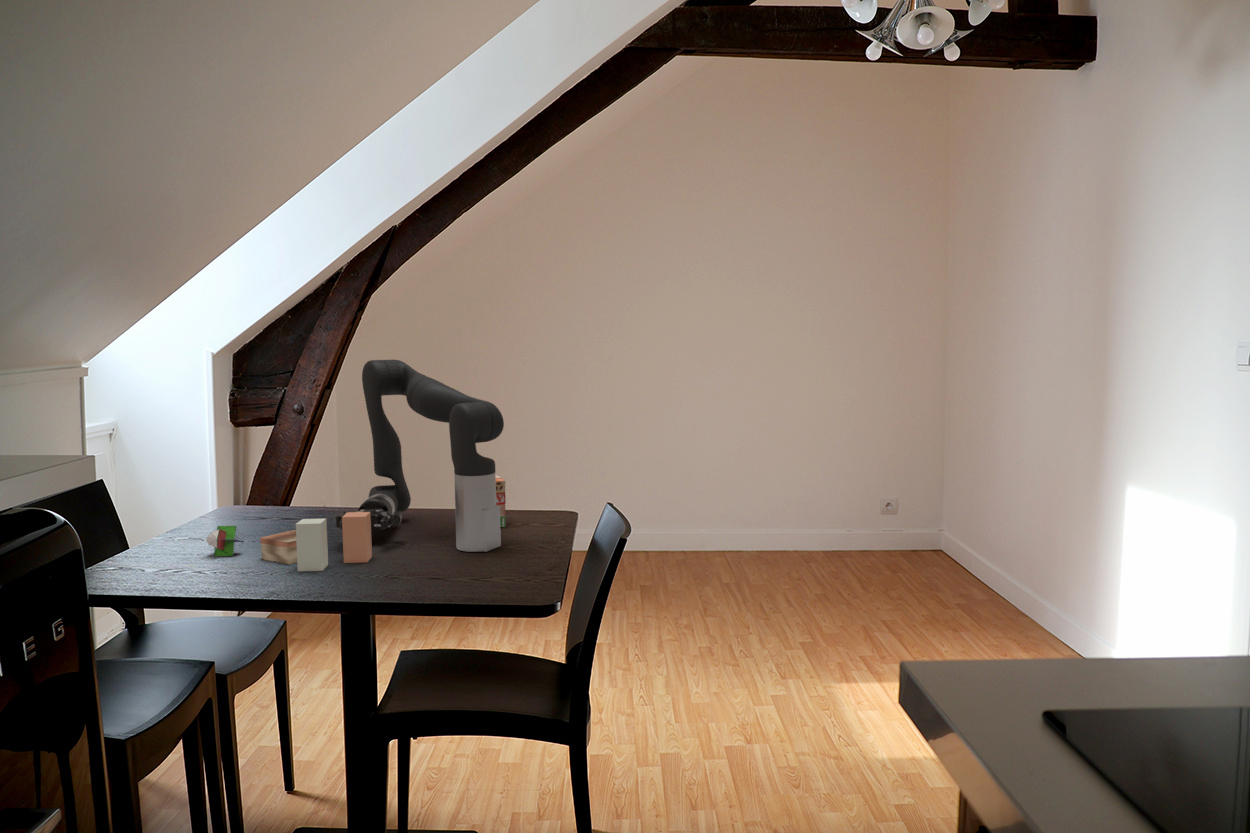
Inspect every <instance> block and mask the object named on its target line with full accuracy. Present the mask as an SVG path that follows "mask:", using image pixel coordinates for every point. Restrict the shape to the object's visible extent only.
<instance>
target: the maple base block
mask: <svg viewBox="0 0 1250 833" xmlns="http://www.w3.org/2000/svg"><path fill="white" fill-rule="evenodd" d="M259 540H260V542H259V543H260V546H261V547H260V548H261V559H262V560H263V559H264V560H265V561H269V560H270V561H269V562H274V561H276V562H275V563H279V562H280V564H286V565H292V564H297V543H296V529H291V530H288V531H283V532H279V533H275V534H270V535H267V536H262V537H260V538H259Z"/></svg>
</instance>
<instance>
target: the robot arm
mask: <svg viewBox="0 0 1250 833" xmlns="http://www.w3.org/2000/svg"><path fill="white" fill-rule="evenodd" d="M361 375H362V376H361V382H362V390H363V395H364V401H365V405H366V406H365V408H366V411H367V417H368V421H369V426H370V432H371V437H372V438H371V439H372V447H373V448H372V451H373V468H374V469H373V470H374V474H375V475H376V476H377V477H383V478H387V479H390V480H392V482H393V483H394V484H390V485H389V484H387V485H386V484H385V485H376V486H373V487H372V488H371V489H370V490H369V493H368V498H366V500H364V502H362V503H361V504H360V506H359V508H358V510H357V512H370V516H371V531H379V530H383V531H384V530H386V529H387V528H391V526H392V525H393V526H394V527H399V526H400V525H401V523H402V512H406V511H407V510H409V508H410V505H411V500H412V499H411V497H412V496H411V494H410V491H409V487H408V485H407V481H406V479H405V475H404V470H403V460H402V459H403V457H402V444H401V440H400V438H399V435H398V433H397V432H396V430H395V429H394V427H393V425H392V424H391V422H390V421H389V419H388V417H387V415H386V412H385V410H384V407H383V402H382V401H383V400H382V399H383V398H382V396H383V397H384V396H405V397H406V402H407V405H408V407H410V409H411V410H412V411H413V412H415V413H416V414H418V415H420V416H422V417H423V418H426V419H428V420H431V421H436V422H440V423H447V424H448V428H449V440H450V455H451V461H452V465H453V468H454V470H453V471H454V506H455V507H454V509H455V512H454V514H455V539H456V540H455V544H456V549H457V550H458V551H463V552H470V553H471V552H472V553H473V552H475V553H477V552H478V553H479V552H485V553H486V552H489V551H492V550H494V549H496V548H497V549H498V548H499V547H502V542H501V541H502V540H501V539H502V537H501V536H502V535H501V528H500V506H499V505H496V475H497V473H496V462H495V460H494V459H492V458H490V457H486V456H483V455H481V454H480V453H479V452H478V449H477V446H476V445H477V444H480V443H487V442H491V441H493V440H496V439H497V438H499V437H500V436H501V434H502V433H503V431H504V426H505V425H504V424H505V423H504V417H503V415H502V412H501V411H500V409H499V408H498V407H497V405H496V404H494V403H492V402H491V401H487V400H484V399H479V398H476V397H472V396H469V395H467V394H465V393H463V392H460V391H459V390H457V389H455V388H453V387H450V386H448V385H446V384H444V383H443V382H441V381H440V380H437V379H434V378H432V377H429V376H428V375H425V374H423V373H420V372H418V370H415V369H414V368H413V367H411V366H410V365H409V364H407V363H405V362H404V361H402V360H399V359H371V360H368V361H367V362H365V364H364V365H363V368H362V374H361ZM347 512H348V511H342V512H340V513H339V514H338V515H336V516H335V528H338V529H340V530H342V517H343V516H344V515H345V514H346V513H347Z"/></svg>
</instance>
